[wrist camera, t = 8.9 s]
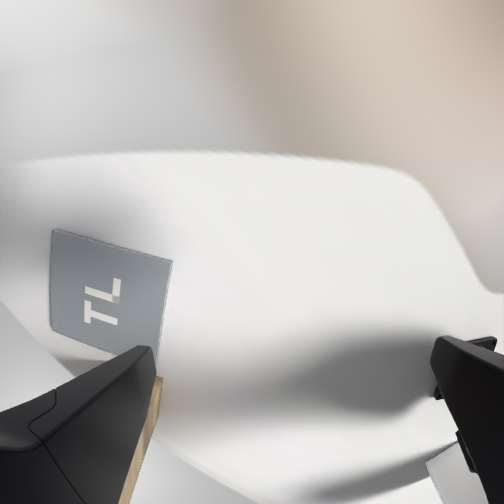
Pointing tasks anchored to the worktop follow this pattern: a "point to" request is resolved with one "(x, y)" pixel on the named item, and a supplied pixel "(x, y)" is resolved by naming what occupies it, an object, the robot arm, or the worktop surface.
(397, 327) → the worktop surface
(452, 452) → the milk
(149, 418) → the oak block
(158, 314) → the tile
